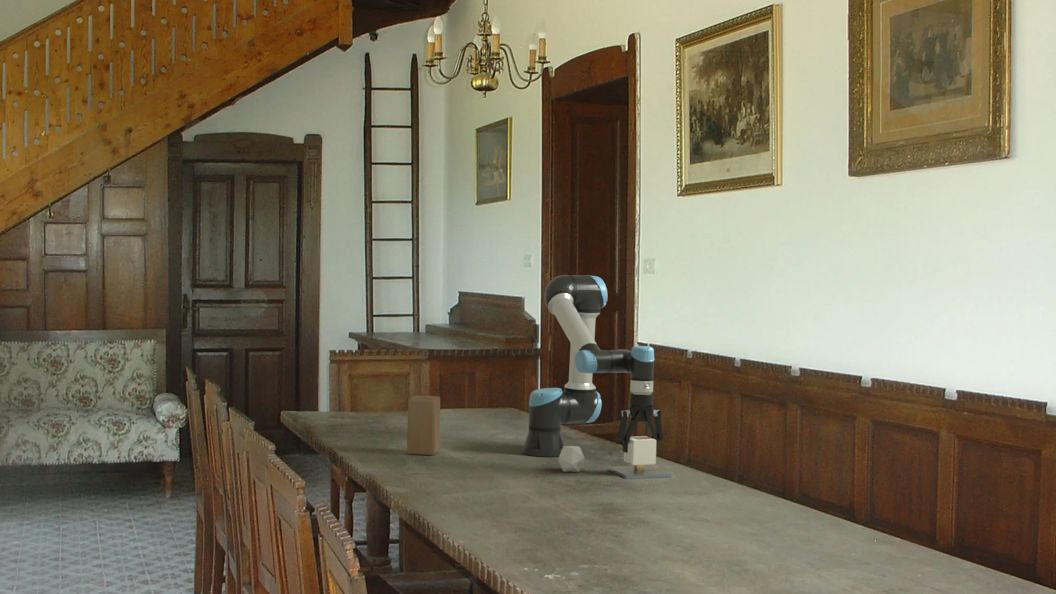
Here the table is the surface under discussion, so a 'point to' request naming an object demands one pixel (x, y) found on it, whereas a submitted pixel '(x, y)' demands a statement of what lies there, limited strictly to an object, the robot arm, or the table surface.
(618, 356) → the robot arm
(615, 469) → the base plate
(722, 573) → the table surface
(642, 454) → the cream open box
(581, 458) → the die
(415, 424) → the wooden block
